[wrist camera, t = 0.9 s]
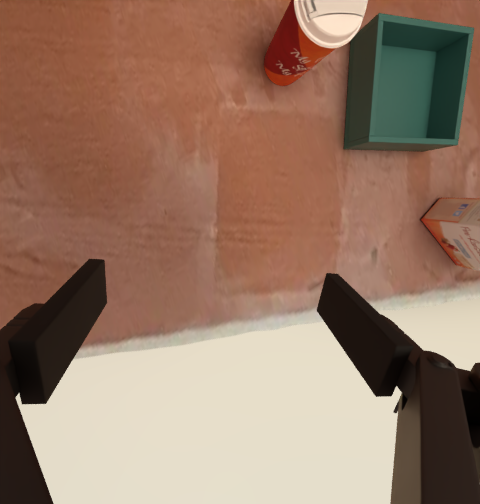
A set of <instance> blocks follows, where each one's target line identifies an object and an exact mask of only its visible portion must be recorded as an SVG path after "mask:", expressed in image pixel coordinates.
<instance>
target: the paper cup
mask: <svg viewBox="0 0 480 504" xmlns="http://www.w3.org/2000/svg"><path fill="white" fill-rule="evenodd" d="M367 1H368V0H291V2H290V4H289V6H288V8H287V10H286V12H285V14H284V16H283V18H282V20H281V22H280V24H279V27H278V29H277V31H276V33H275V35H274V37H273V39H272V41H271V43H270V45H269V48H268V50H267V52H266V55H265V59H264V67H265V71H266V74H267V76H268V77H269V79H270V80H271V81H272V82H273V83H275V84H277V85H280V86H286V85H289V84H291V83H293V82H294V81H296V80H297V79H298V78H300V77H301V76H302V75H303V74H305V73H306V72H307V71H308V70H310V69H311V68H312V67H313V66H315V65H316V64H317V63H318V62H320V61H321V60H322V59H323V58H324V57H326V56H327V55H328V54H329V53H331V52H332V51H333V50H334V49H336V48H337V47H341V46H343V45H345V44H346V43H348V42H349V41H350V40H351V39H352V38H353V37H354V36H355V35H356V33H357V32H358V30H359V28H360V26H361V23H362V20H363V17H364V14H365V11H366V7H367Z"/></svg>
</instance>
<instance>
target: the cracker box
mask: <svg viewBox="0 0 480 504" xmlns="http://www.w3.org/2000/svg"><path fill="white" fill-rule="evenodd" d="M421 221H422V222H423V223H424V224H425V225H426V227H427V228H428V229H429V231H430V232H431V233H432V234H433V236H434V237H435V238H436V239H437V241H438V242H439V243H440V245H441V246H442V247H443V248H444V250H445V251H446V252H447V254H448V255H449V256H450V257H451V259H452V260H453V261H454V263H455V264H456V265H458V266H462V267H466V268H470V269H474V270H477V271H480V198H440V199H439V200H438V201H437V202H436V203H435V204H434V205H433V207H432V208H431V209H430V210H429V211H428V212H427V213H426V214H425V216H424V217H423V218H422V219H421Z"/></svg>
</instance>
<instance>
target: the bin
mask: <svg viewBox="0 0 480 504" xmlns="http://www.w3.org/2000/svg"><path fill="white" fill-rule="evenodd" d="M473 34H474V28H471V27H465V26H459V25H452V24H446V23H439V22H433V21H426V20H420V19H414V18H407V17H401V16H394V15H388V14H382V13H379V14H378V15H377V16H375V17H374V18H373V19H372V20H371V21H370V22H369V23H368V24H367V25H366V26H365V27H363V28H362V29H361V30H360V31H359V32H358V33H357V34H356V35H355V36H354V37H353V38H352V39H351V40H350V57H349V73H348V89H347V106H346V122H345V138H344V149H356V150H391V151H428V150H434V149H439V148H444V147H449V146H455V145H458V139H459V133H460V126H461V119H462V112H463V104H464V97H465V90H466V83H467V76H468V69H469V62H470V55H471V48H472V41H473Z"/></svg>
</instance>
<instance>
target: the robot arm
mask: <svg viewBox="0 0 480 504" xmlns="http://www.w3.org/2000/svg"><path fill="white" fill-rule="evenodd" d="M106 304H107V295H106V278H105V261H104V260H101V259H89V260H88V261H87V262H86V263H85V264H84V265H83V266H82V267H81V268H80V269H79V270H78V271H77V272H76V273H75V274H74V275H73V276H72V277H71V278H70V279H69V280H68V281H67V282H66V283H65V284H64V285H63V286H62V287H61V288H60V289H59V290H58V291H57V292H56V293H55V294H54V295H53V296H52V297H51V298H50V299H49V300H48V301H47V302H46V303H45V304H37V303H35V304H33V305H31V306H29V307H27V308H25V309H23V310H22V311H21V312H19V313H18V314H17V315H16V316H15V317H14V319H12V320H11V321H10V322H9V323H7V324H6V326H4V327H3V328H2V329H1V330H0V504H53V501H52V498H51V496H50V493H49V490H48V487H47V485H46V482H45V479H44V477H43V473H42V471H41V468H40V466H39V463H38V460H37V457H36V454H35V451H34V448H33V446H32V443H31V440H30V437H29V435H28V432H27V429H26V427H25V423H24V421H23V418H22V415H21V412H20V409H19V407H18V404H17V401H16V399H15V397H16V396H17V395H18V393H20V397H21V401H22V404H46V403H47V401H48V399H49V398H50V396H51V395H52V393H53V391H54V390H55V388H56V386H57V385H58V383H59V381H60V380H61V378H62V376H63V374H64V373H65V371H66V370H67V368H68V366H69V365H70V363H71V361H72V360H73V358H74V357H75V355H76V353H77V352H78V350H79V348H80V347H81V345H82V343H83V342H84V340H85V338H86V337H87V335H88V333H89V332H90V330H91V328H92V327H93V325H94V323H95V322H96V320H97V318H98V317H99V315H100V314H101V312H102V310H103V309H104V307H105V305H106ZM317 312H318V313H319V315H320V316H321V317H322V319H323V320H324V322H325V323H326V325H327V326H328V328H329V329H330V330H331V332H332V333H333V335H334V336H335V338H336V339H337V341H338V342H339V344H340V345H341V346H342V348H343V349H344V351H345V352H346V354H347V355H348V357H349V358H350V360H351V361H352V362H353V364H354V365H355V367H356V368H357V370H358V371H359V372H360V374H361V376H362V377H363V378H364V380H365V381H366V383H367V384H368V386H369V387H370V389H371V390H372V392H373V393H374V394H375V396H376V397H377V396H392V394H393V392H394V389H395V387H396V386H398V388H399V389H400V391H401V392H402V394H401V396H400V399H399V401H398V403H397V405H396V407H395V410H394V413H397V411H398V420H397V432H396V444H395V457H394V469H393V480H392V492H391V504H480V483H479V482H480V363H475V365H474V366H473V368H472V370H471V371H467V370H463V369H458V368H456V367H455V366H454V364H453V363H451V361H449V360H448V359H447V358H445V357H443V356H441V355H439V354H437V353H434V352H431V351H423V350H422V349H421V348H420V347H419V346H418V345H417V344H416V343H415V342H414V341H413V340H412V339H411V338H410V337H409V336H407V335H406V334H404V332H403V331H402V330H401V329H399V328H398V326H397V325H396V324H395V323H394V322H392V321H391V320H390V319H388V318H386V317H385V316H383V315H380V314H379V313H378V312H377V311H376V310H375V309H374V308H373V307H372V306H371V305H370V304H369V303H368V302H367V301H366V300H365V299H363V298H362V297H361V296H360V295H359V294H358V293H357V292H356V291H355V290H354V289H353V288H352V287H351V286H350V285H349V284H348V283H347V282H346V281H345V280H344V279H343V278H342V277H340V276H339V275H338V274H331V273H327V274H326V277H325V281H324V285H323V289H322V292H321V296H320V300H319V304H318V307H317Z"/></svg>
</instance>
